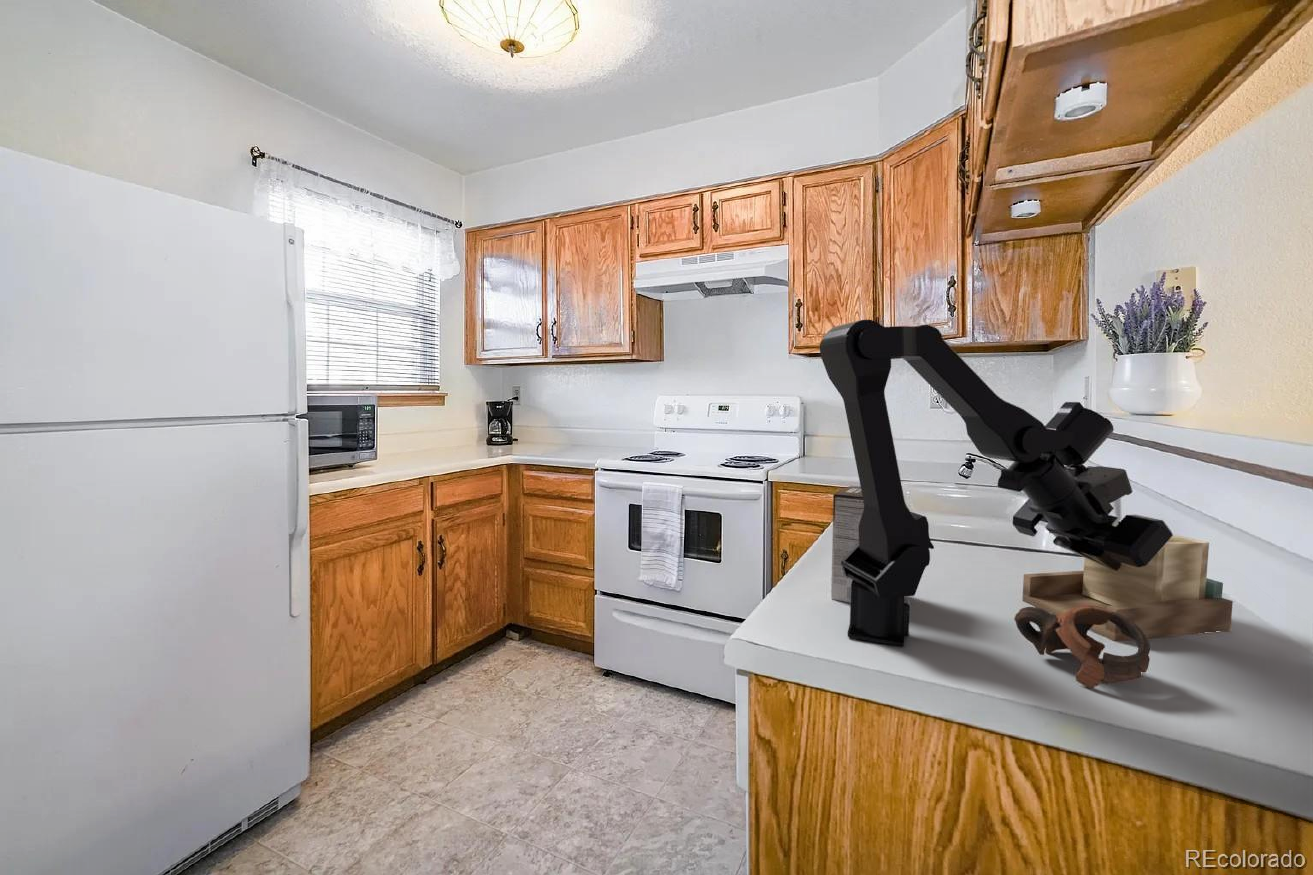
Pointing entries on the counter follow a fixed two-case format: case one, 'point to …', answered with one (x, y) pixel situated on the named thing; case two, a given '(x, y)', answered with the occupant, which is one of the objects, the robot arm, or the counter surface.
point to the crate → (1152, 576)
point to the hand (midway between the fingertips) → (1116, 567)
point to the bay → (1132, 607)
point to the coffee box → (844, 537)
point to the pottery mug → (1085, 642)
